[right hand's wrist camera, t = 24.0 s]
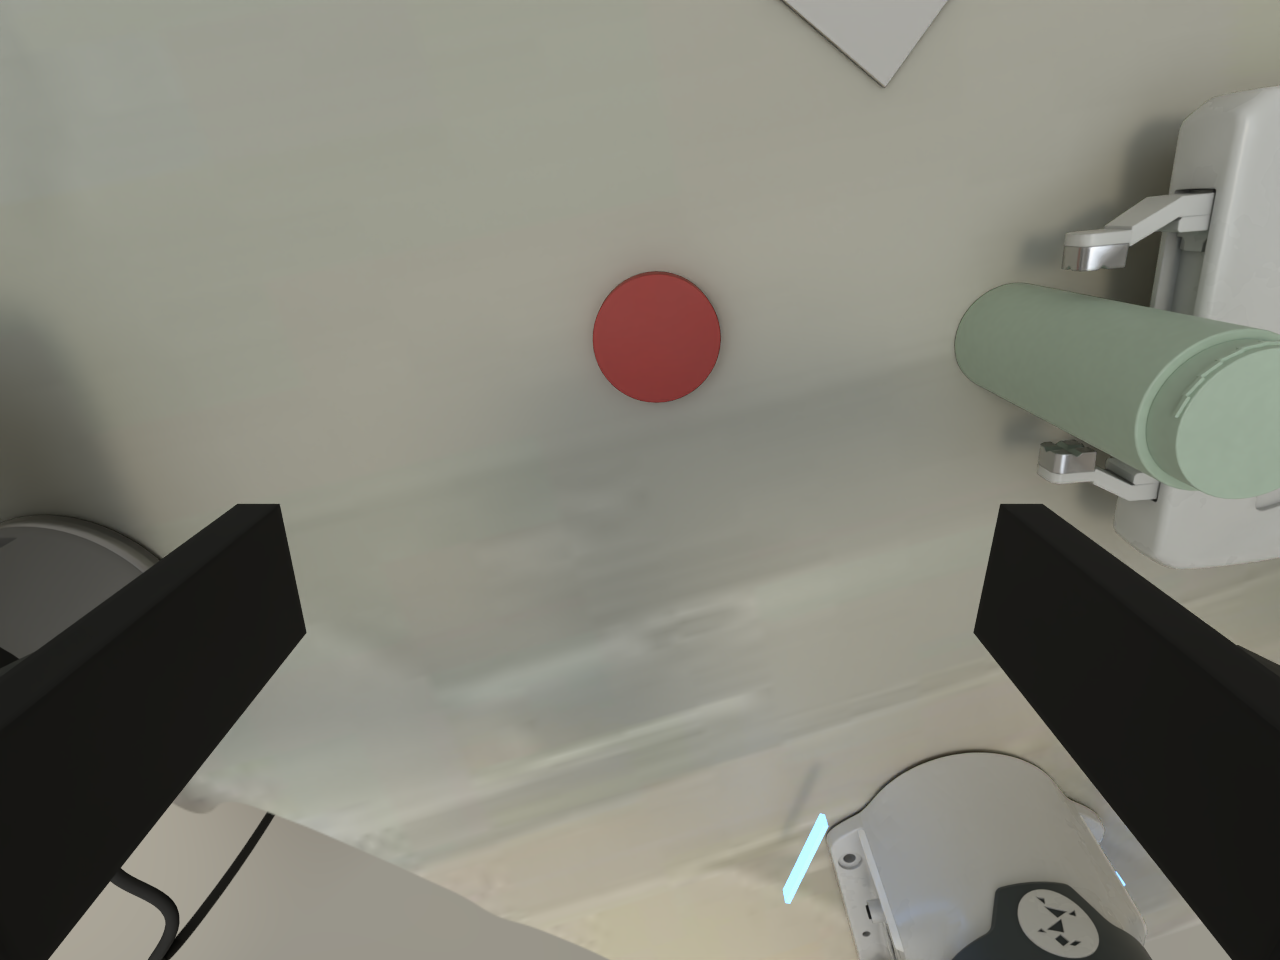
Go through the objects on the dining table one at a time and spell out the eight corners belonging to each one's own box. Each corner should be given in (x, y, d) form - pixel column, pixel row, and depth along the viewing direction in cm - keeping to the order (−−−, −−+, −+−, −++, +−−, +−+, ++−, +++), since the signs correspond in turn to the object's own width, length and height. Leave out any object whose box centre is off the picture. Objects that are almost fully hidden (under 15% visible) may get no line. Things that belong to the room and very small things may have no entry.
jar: (1081, 297, 35) (1395, 360, 20) (1034, 399, 37) (1288, 524, 22) (980, 270, 35) (1226, 316, 20) (937, 375, 37) (1132, 487, 22)
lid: (570, 335, 36) (566, 341, 35) (656, 243, 35) (656, 245, 33) (656, 418, 38) (656, 427, 36) (742, 334, 36) (747, 339, 35)
